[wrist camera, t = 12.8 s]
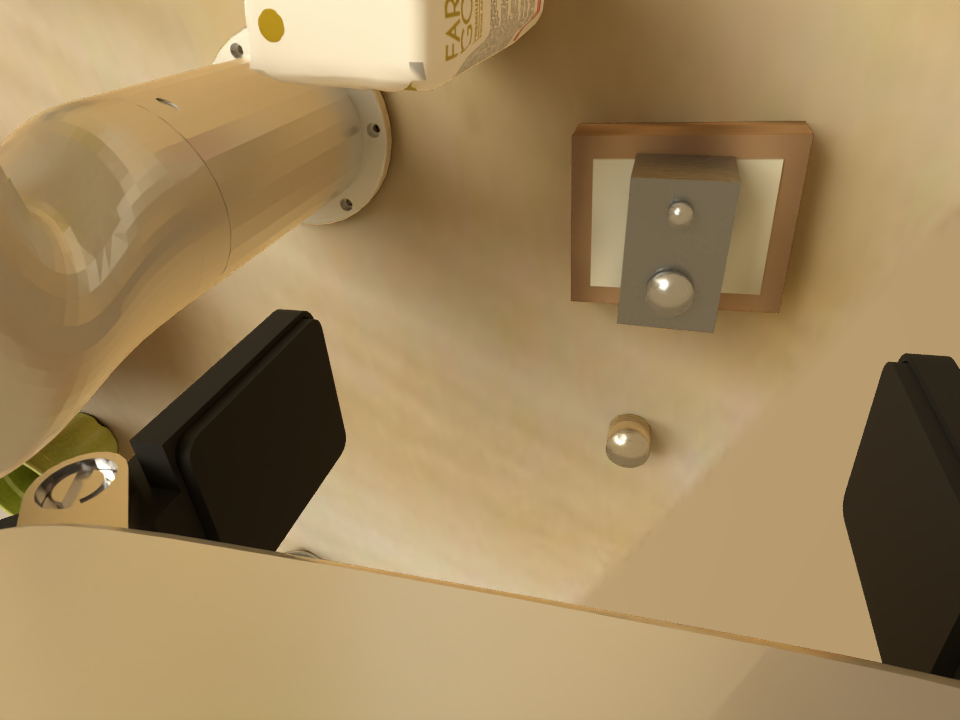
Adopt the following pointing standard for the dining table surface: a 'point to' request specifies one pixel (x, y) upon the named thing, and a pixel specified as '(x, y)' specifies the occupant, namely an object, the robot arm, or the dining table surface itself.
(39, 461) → the plant pot
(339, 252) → the dining table surface
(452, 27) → the juice carton
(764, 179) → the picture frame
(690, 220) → the housing
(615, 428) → the cylinder
